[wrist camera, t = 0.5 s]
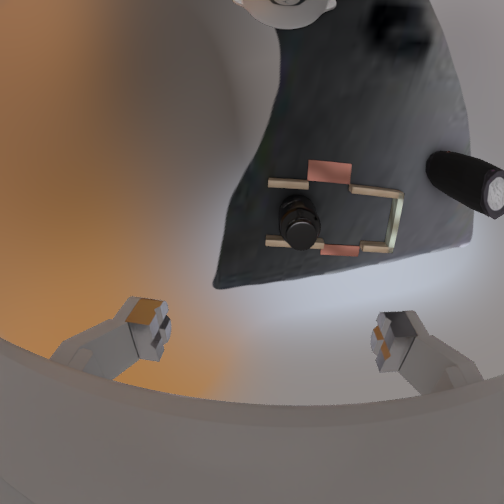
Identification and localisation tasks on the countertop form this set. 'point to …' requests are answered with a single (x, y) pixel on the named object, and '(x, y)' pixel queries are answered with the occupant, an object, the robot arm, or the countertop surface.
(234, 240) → the countertop surface
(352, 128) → the countertop surface
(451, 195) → the portable speaker
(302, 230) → the supplement bottle
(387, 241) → the channel
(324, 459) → the robot arm
